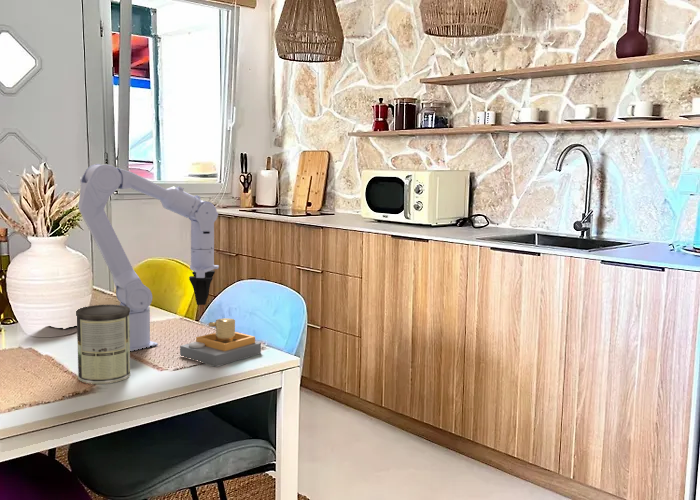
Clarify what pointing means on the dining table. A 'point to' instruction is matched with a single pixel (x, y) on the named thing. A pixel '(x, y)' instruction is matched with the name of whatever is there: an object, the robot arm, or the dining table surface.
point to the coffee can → (103, 343)
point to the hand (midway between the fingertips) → (202, 301)
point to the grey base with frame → (221, 349)
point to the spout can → (224, 330)
